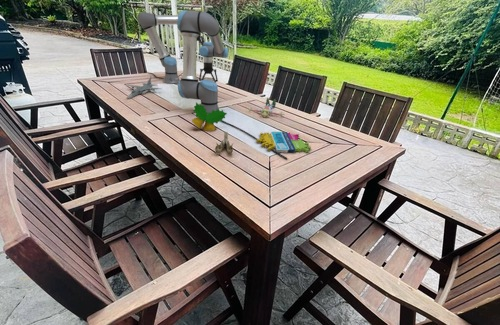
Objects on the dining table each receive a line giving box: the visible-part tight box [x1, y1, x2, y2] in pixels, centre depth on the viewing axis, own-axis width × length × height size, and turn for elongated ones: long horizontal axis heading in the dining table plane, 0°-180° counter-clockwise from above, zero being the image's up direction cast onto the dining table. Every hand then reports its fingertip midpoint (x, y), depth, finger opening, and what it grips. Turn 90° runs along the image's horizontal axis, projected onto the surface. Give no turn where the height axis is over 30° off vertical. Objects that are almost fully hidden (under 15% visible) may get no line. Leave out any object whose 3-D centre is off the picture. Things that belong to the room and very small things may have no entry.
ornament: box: [191, 102, 228, 132], centre depth 162 cm, size 21×8×15 cm, turn 105°
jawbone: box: [214, 131, 234, 156], centre depth 136 cm, size 9×15×10 cm
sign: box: [256, 131, 312, 154], centre depth 152 cm, size 26×2×30 cm
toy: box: [247, 97, 285, 118], centre depth 199 cm, size 28×7×30 cm
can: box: [203, 77, 214, 82], centre depth 229 cm, size 9×9×13 cm
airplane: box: [126, 75, 162, 99], centre depth 223 cm, size 38×31×10 cm
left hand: (197, 53), depth 277 cm, fingers open, 13 cm apart
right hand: (208, 89), depth 230 cm, fingers closed on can, 9 cm apart
